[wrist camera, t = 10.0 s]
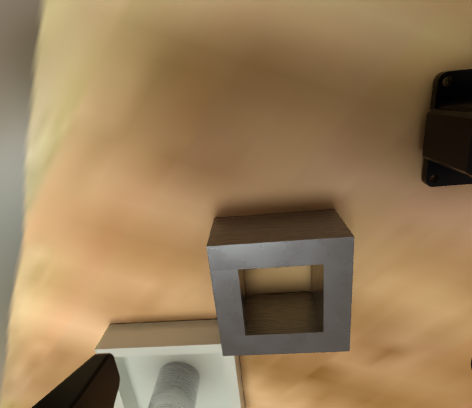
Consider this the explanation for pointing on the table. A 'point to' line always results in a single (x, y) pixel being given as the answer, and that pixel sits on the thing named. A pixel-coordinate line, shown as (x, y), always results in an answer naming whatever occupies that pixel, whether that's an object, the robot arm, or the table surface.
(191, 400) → the pin
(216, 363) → the tray
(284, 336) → the bracket
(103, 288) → the table surface
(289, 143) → the table surface
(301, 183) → the table surface
